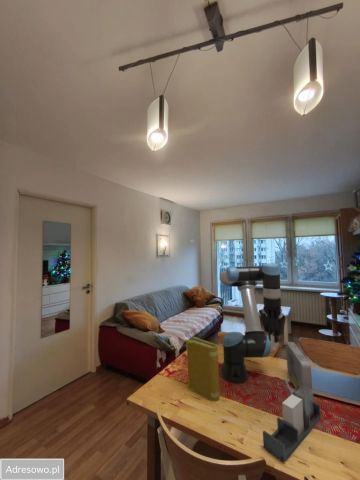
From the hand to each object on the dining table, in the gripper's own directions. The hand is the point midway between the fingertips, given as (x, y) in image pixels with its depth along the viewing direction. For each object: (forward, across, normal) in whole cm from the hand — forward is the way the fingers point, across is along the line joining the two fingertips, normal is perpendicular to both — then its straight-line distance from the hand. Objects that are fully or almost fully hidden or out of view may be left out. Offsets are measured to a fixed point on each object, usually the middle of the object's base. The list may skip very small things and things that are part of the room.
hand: (274, 348), depth 98 cm
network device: (+27, +1, +19) cm, 33 cm away
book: (+27, -29, -18) cm, 43 cm away
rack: (+26, +11, -7) cm, 29 cm away
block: (+26, +11, -7) cm, 29 cm away
